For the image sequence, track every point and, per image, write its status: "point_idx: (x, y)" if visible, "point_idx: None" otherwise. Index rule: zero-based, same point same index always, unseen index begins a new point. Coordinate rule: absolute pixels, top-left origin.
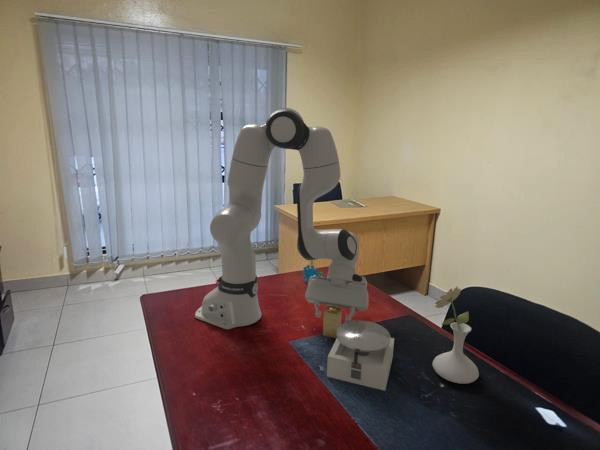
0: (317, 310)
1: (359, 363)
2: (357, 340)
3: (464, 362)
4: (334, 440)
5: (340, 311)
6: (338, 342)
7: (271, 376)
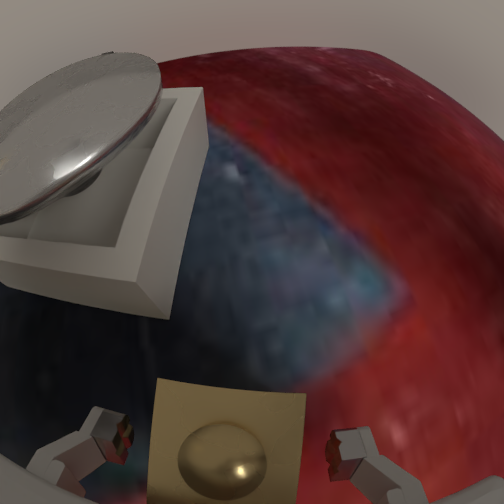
0: (369, 454)
1: None
2: (85, 74)
3: None
4: (185, 59)
5: (151, 465)
6: (160, 151)
7: (353, 126)
